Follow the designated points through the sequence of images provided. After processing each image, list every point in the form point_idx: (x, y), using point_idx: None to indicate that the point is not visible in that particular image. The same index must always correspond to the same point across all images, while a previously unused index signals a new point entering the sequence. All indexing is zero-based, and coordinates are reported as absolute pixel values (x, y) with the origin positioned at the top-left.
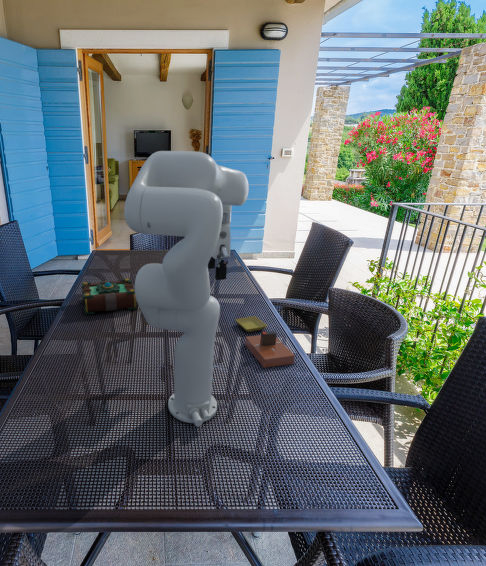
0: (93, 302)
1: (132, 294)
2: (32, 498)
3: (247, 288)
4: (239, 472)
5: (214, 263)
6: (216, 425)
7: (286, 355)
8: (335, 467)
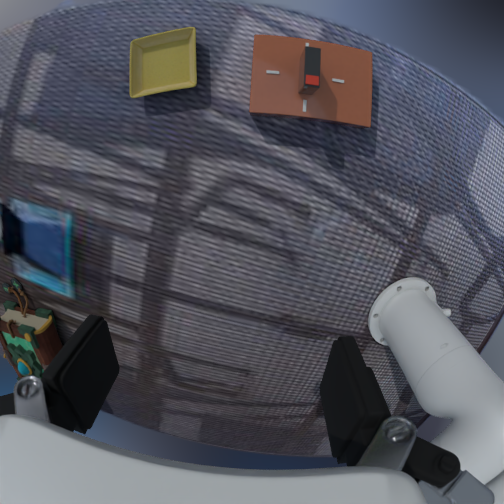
0: None
1: (36, 336)
2: None
3: (8, 41)
4: (490, 290)
5: (88, 345)
6: (443, 290)
7: (368, 68)
8: None
